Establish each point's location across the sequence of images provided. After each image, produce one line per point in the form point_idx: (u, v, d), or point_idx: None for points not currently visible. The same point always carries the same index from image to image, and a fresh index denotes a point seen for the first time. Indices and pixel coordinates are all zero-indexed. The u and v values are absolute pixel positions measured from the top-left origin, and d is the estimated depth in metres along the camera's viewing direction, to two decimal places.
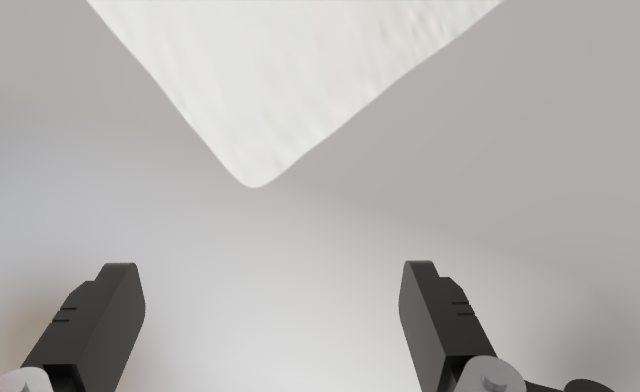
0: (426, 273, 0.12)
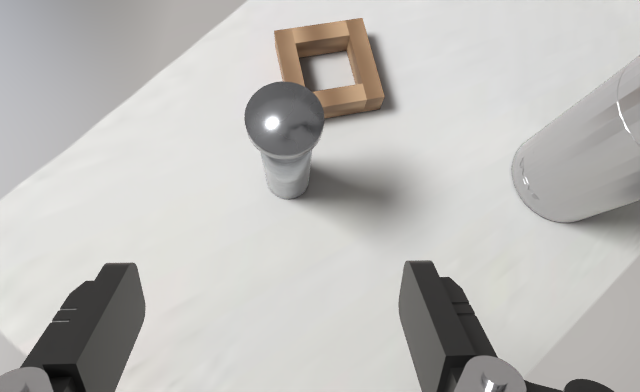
0: (426, 273, 0.12)
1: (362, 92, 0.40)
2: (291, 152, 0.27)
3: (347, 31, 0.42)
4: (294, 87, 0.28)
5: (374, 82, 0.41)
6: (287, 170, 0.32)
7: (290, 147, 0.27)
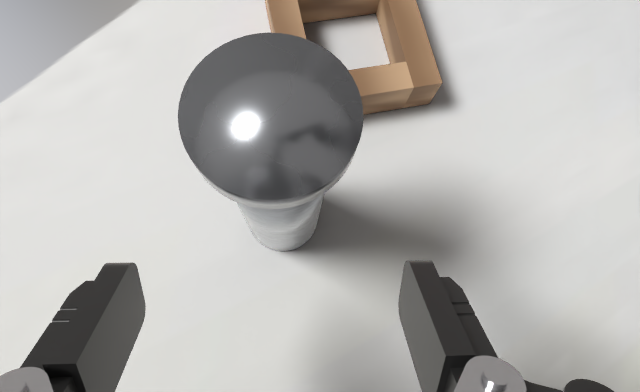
0: (426, 273, 0.12)
1: (406, 75, 0.25)
2: (287, 196, 0.11)
3: None
4: (295, 45, 0.13)
5: (425, 60, 0.25)
6: (280, 219, 0.16)
7: (284, 184, 0.11)
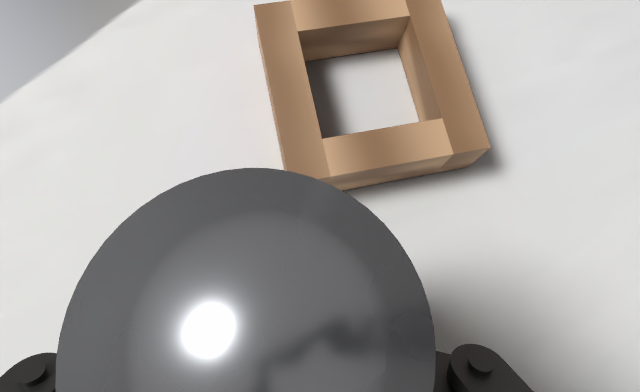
0: None
1: (443, 138, 0.19)
2: None
3: (405, 8, 0.20)
4: (297, 195, 0.06)
5: (467, 115, 0.19)
6: None
7: None
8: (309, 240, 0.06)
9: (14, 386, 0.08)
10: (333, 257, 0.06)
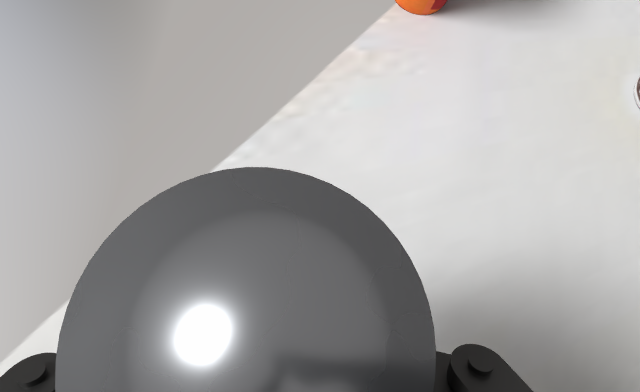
0: None
1: None
2: None
3: None
4: (297, 194, 0.06)
5: None
6: None
7: None
8: (309, 239, 0.06)
9: (14, 386, 0.08)
10: (333, 256, 0.06)
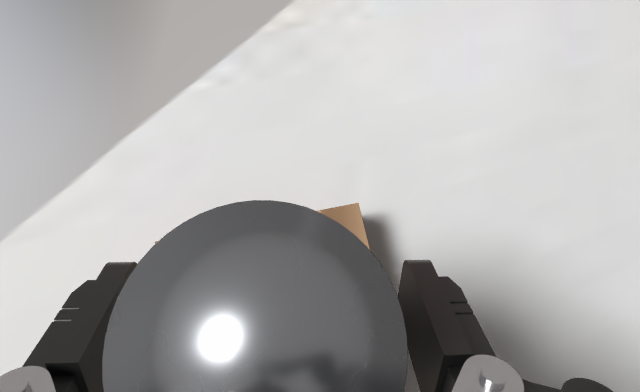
0: (425, 272, 0.12)
1: None
2: None
3: None
4: (296, 222, 0.08)
5: None
6: None
7: None
8: (305, 260, 0.08)
9: None
10: (325, 274, 0.08)
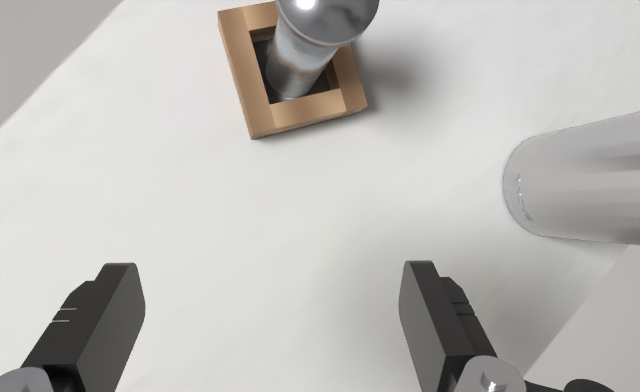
0: (426, 273, 0.12)
1: (340, 100, 0.32)
2: (342, 38, 0.21)
3: None
4: None
5: (354, 86, 0.32)
6: (314, 62, 0.26)
7: (340, 31, 0.21)
8: None
9: None
10: None
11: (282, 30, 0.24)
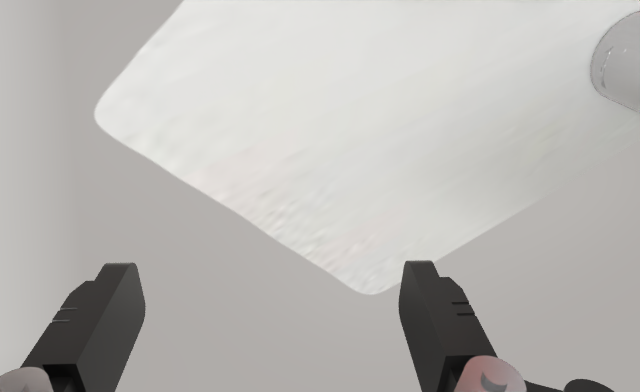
0: (426, 273, 0.12)
1: None
2: None
3: None
4: None
5: None
6: None
7: None
8: None
9: None
10: None
11: None
